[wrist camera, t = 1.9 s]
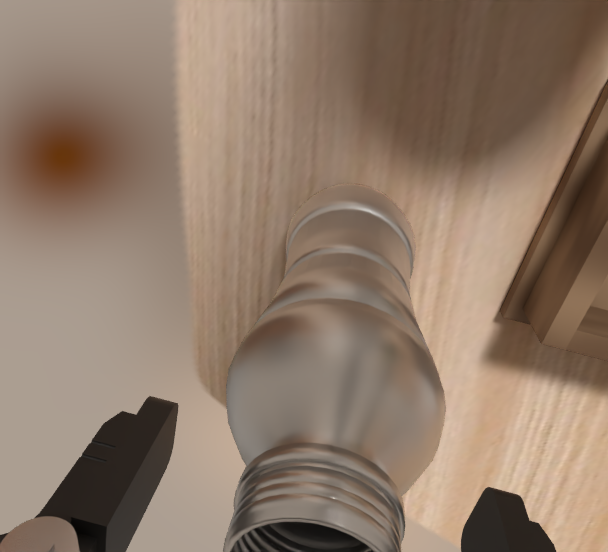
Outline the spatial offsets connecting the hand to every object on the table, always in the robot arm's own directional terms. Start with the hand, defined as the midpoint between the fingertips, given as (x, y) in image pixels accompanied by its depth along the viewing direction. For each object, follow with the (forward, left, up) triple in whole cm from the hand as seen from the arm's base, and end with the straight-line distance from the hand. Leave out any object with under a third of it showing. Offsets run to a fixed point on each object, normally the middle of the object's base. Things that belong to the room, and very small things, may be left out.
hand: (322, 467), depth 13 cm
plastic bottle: (0, 0, -17) cm, 17 cm away
